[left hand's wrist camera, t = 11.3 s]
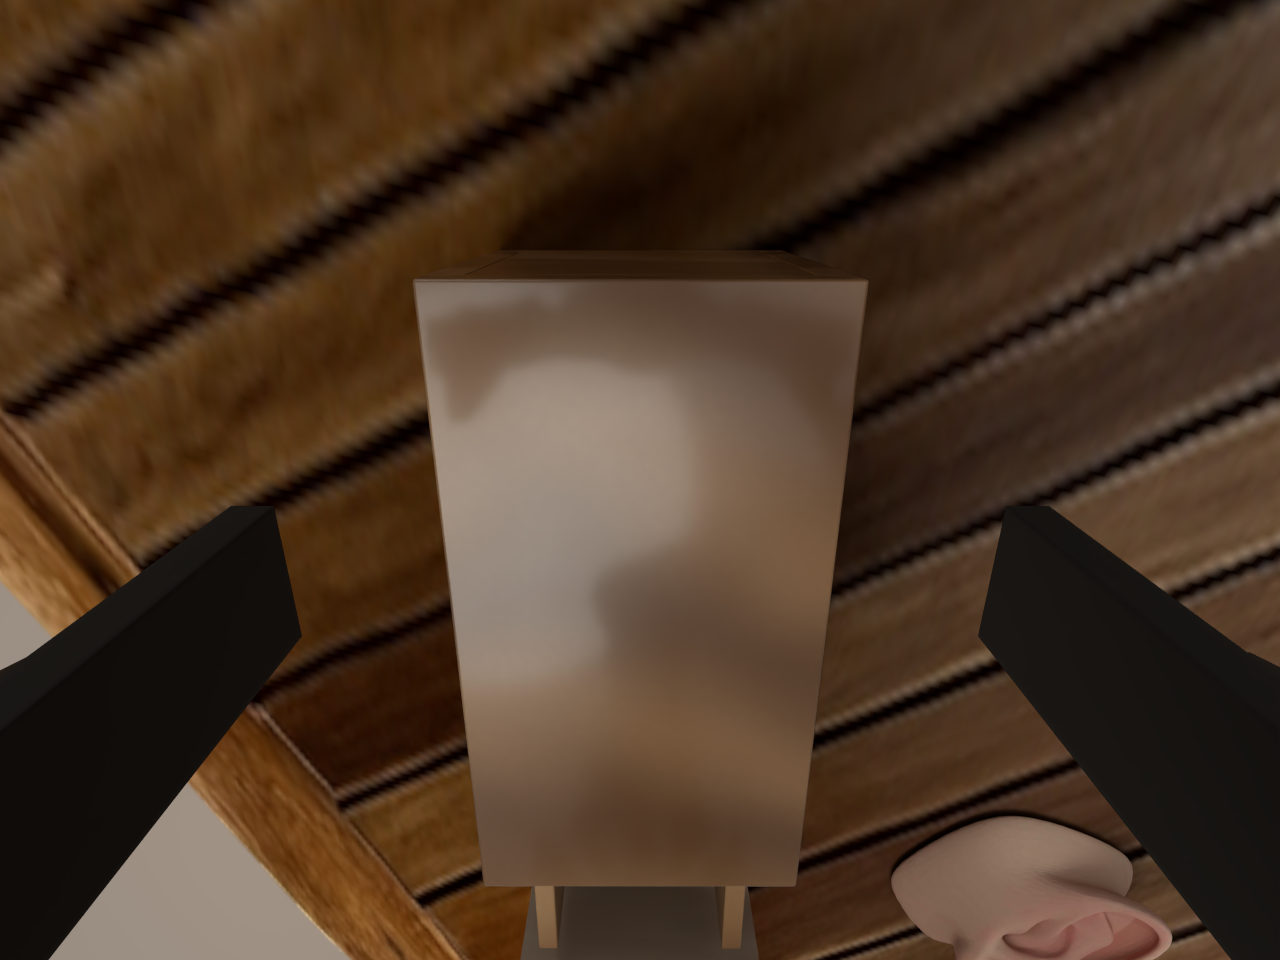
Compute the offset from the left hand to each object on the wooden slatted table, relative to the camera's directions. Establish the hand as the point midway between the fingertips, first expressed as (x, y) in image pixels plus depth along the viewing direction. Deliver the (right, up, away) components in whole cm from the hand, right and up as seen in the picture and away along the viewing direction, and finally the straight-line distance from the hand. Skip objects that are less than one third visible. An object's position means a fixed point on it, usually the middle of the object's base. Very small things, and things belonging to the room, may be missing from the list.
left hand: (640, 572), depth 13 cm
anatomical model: (+22, -23, +29) cm, 43 cm away
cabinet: (0, +1, +19) cm, 19 cm away
